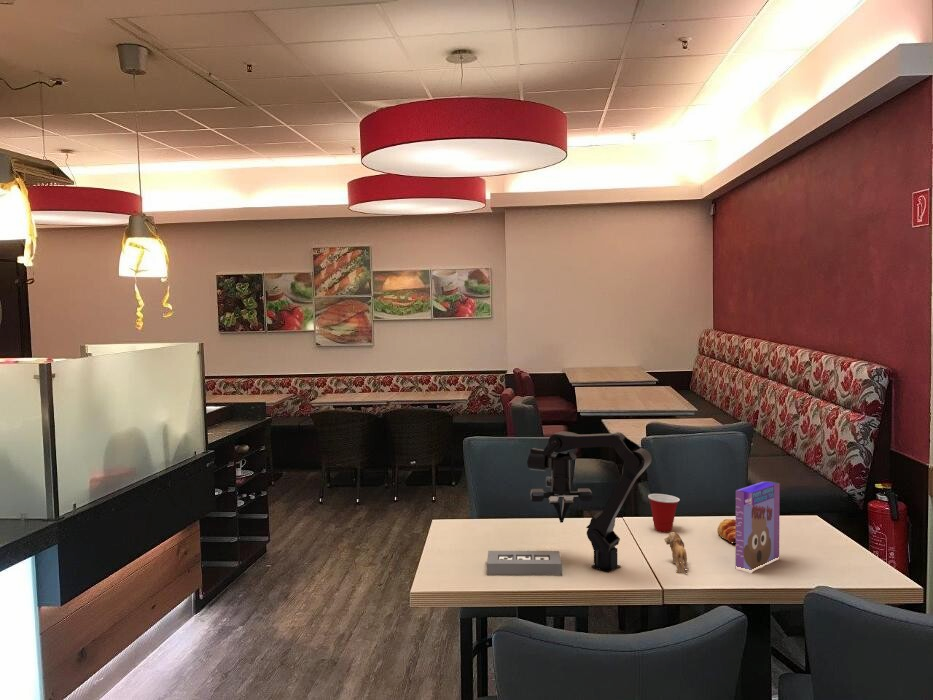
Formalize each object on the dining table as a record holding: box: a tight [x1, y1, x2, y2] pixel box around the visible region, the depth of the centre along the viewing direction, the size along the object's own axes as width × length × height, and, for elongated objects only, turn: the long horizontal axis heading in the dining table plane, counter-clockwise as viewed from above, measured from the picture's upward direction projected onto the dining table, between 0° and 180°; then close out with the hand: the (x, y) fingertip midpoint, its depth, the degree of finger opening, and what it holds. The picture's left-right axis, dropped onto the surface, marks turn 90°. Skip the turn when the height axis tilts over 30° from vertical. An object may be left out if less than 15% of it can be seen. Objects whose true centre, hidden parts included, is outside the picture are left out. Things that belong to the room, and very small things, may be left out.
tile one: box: [535, 557, 549, 560], centre depth 231 cm, size 4×4×2 cm
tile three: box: [499, 556, 512, 560], centre depth 232 cm, size 4×4×2 cm
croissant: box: [717, 518, 736, 544], centre depth 259 cm, size 21×10×8 cm, turn 167°
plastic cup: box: [647, 493, 681, 533], centre depth 268 cm, size 11×11×12 cm
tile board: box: [486, 550, 563, 576], centre depth 232 cm, size 22×12×3 cm, turn 86°
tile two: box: [517, 556, 531, 560], centre depth 232 cm, size 4×4×2 cm
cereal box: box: [735, 480, 781, 570], centre depth 231 cm, size 17×5×24 cm, turn 131°
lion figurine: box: [663, 531, 689, 574], centre depth 230 cm, size 15×5×9 cm, turn 3°
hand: (561, 522), depth 238 cm, fingers closed
